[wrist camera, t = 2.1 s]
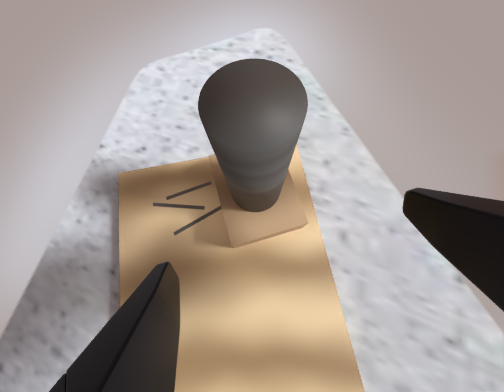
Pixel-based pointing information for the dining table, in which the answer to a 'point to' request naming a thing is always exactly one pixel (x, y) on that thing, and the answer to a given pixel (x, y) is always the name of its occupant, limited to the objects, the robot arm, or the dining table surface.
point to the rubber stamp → (254, 146)
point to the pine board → (236, 287)
